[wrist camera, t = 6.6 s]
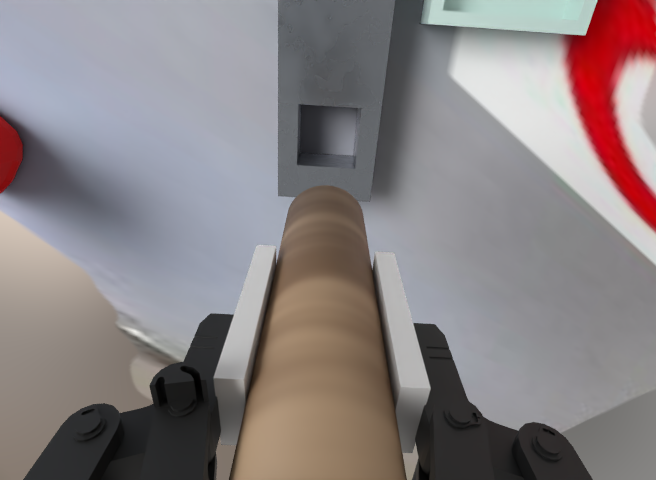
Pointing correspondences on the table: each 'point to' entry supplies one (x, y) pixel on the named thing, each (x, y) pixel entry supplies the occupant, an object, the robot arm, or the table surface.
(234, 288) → the table surface
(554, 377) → the table surface
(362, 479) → the pin
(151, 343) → the table surface
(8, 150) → the water bottle
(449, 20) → the tray
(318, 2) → the block
